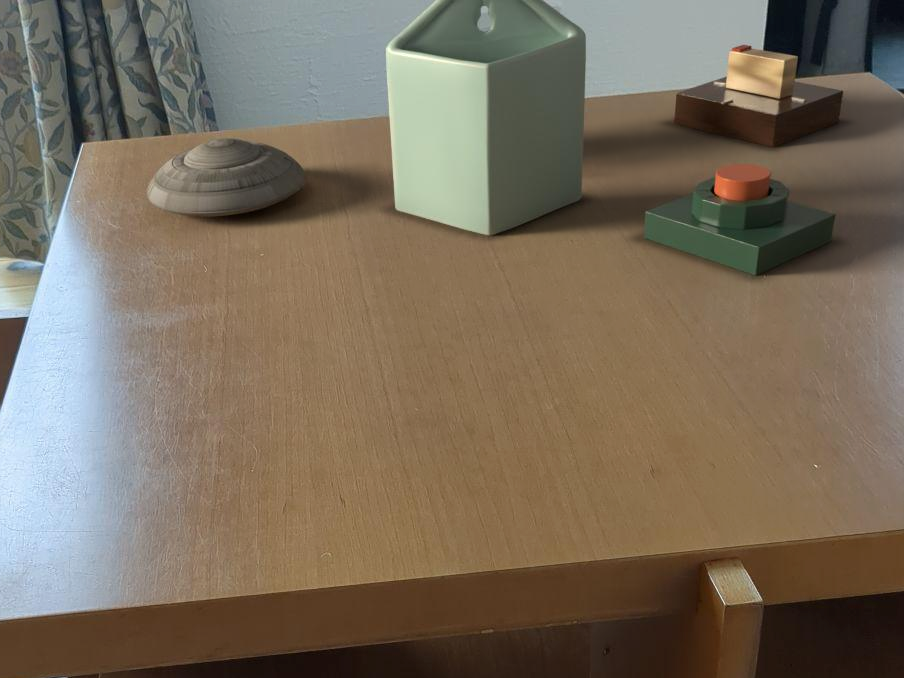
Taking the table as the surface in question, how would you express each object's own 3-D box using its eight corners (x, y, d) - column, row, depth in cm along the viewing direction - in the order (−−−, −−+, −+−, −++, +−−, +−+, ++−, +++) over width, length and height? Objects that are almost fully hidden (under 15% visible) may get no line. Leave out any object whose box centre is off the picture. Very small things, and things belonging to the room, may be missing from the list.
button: (779, 194, 88) (782, 171, 87) (744, 207, 87) (747, 185, 86) (736, 182, 91) (739, 160, 90) (702, 195, 89) (704, 173, 88)
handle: (793, 94, 111) (798, 53, 109) (779, 99, 110) (785, 57, 108) (738, 83, 115) (742, 43, 113) (725, 87, 114) (729, 48, 112)
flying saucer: (141, 187, 113) (130, 131, 110) (291, 164, 115) (284, 107, 112) (157, 240, 101) (146, 177, 98) (324, 212, 103) (317, 150, 100)
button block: (831, 241, 89) (839, 190, 87) (755, 275, 85) (762, 223, 83) (717, 208, 97) (722, 160, 94) (643, 237, 93) (646, 188, 90)
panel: (840, 121, 113) (846, 88, 111) (770, 148, 108) (774, 113, 106) (741, 100, 121) (744, 68, 119) (671, 124, 116) (674, 91, 114)
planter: (392, 241, 96) (375, -16, 85) (395, 207, 103) (379, -36, 91) (590, 230, 95) (600, -33, 83) (580, 197, 101) (588, -52, 90)
